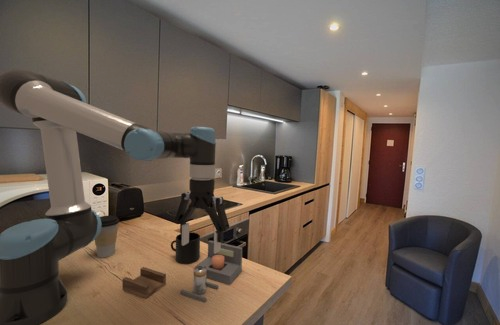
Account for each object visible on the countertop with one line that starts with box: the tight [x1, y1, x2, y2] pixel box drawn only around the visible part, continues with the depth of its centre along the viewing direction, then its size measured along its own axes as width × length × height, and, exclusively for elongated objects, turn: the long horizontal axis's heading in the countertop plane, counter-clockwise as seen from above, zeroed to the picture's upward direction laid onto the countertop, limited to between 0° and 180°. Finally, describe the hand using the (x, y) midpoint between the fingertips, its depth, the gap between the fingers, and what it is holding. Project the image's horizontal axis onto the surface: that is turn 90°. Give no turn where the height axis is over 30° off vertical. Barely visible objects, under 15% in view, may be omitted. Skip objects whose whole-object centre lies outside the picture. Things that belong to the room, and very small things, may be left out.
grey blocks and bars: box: [179, 240, 243, 303], centre depth 79 cm, size 20×14×9 cm
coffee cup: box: [94, 214, 120, 258], centre depth 94 cm, size 9×9×15 cm
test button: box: [212, 255, 224, 271], centre depth 83 cm, size 4×4×4 cm
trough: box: [121, 266, 167, 299], centre depth 74 cm, size 8×10×3 cm
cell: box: [192, 266, 207, 296], centre depth 73 cm, size 4×4×8 cm
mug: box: [170, 231, 201, 264], centre depth 94 cm, size 9×12×9 cm
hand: (200, 247), depth 72 cm, fingers open, 11 cm apart
